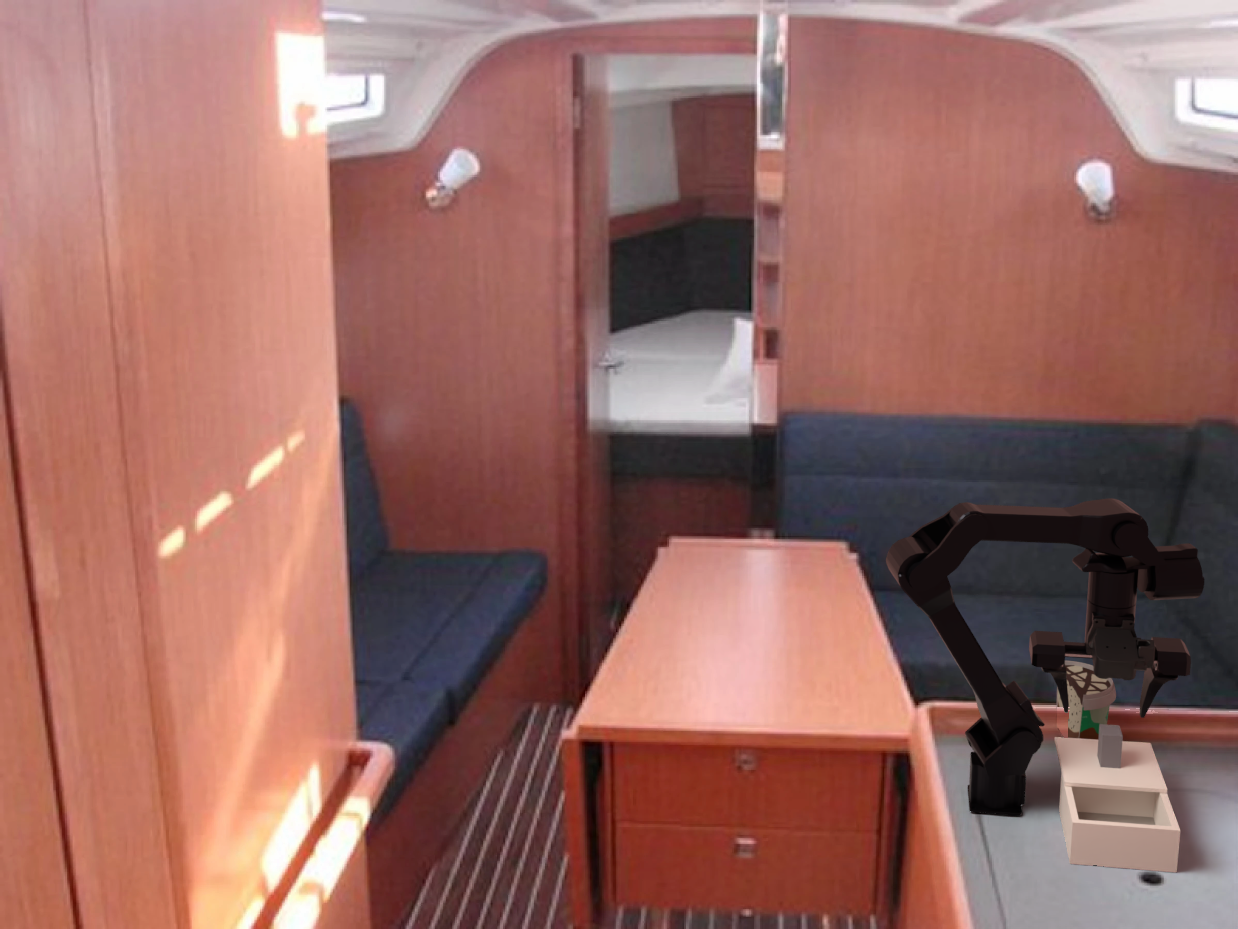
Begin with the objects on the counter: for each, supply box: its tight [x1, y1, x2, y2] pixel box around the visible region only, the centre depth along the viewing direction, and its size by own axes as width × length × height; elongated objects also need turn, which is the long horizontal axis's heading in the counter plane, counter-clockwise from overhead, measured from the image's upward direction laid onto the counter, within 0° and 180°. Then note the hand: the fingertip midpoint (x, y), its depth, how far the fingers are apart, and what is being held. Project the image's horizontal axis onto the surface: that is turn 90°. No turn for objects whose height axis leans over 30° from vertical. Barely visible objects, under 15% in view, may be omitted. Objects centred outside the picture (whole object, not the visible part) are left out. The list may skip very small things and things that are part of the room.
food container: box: [1056, 660, 1117, 740], centre depth 184 cm, size 12×6×10 cm, turn 179°
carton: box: [1058, 772, 1181, 873], centre depth 160 cm, size 12×12×6 cm
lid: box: [1054, 724, 1168, 794], centre depth 166 cm, size 12×12×5 cm
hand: (1103, 714), depth 167 cm, fingers open, 9 cm apart
